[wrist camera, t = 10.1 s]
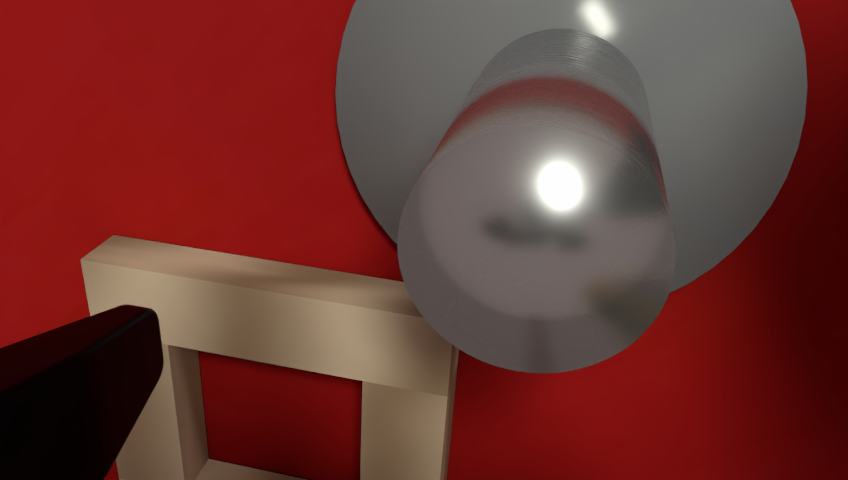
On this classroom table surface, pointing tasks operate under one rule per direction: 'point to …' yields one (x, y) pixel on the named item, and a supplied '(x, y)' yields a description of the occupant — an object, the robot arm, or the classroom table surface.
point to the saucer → (651, 57)
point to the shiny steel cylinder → (543, 211)
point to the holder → (277, 353)
